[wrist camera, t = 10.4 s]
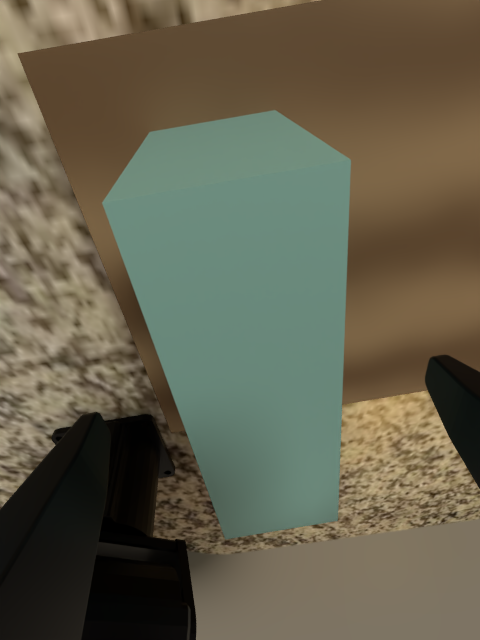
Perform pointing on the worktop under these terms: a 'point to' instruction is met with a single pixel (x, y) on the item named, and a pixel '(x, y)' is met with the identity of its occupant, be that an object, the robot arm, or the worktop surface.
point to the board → (329, 126)
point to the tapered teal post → (245, 306)
